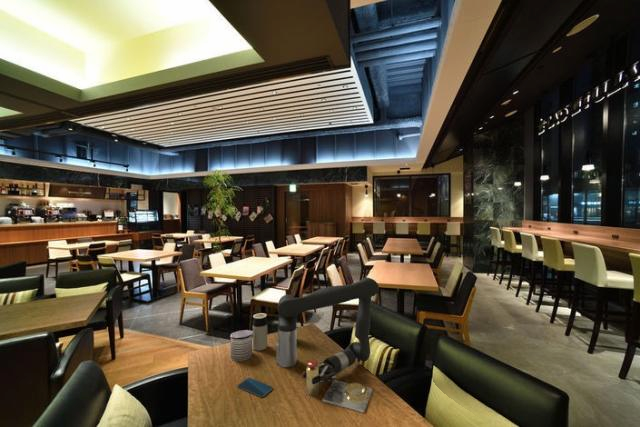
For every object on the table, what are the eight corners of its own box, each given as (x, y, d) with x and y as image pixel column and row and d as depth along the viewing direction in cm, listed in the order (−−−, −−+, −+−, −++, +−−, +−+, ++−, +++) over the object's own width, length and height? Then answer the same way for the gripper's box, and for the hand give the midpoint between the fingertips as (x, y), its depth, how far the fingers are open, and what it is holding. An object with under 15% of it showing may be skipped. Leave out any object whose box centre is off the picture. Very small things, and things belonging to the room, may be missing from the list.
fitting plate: (322, 401, 109) (322, 395, 110) (334, 381, 122) (334, 376, 122) (364, 412, 103) (364, 406, 103) (372, 390, 116) (372, 385, 116)
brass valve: (304, 393, 114) (304, 364, 114) (309, 386, 119) (309, 358, 119) (315, 397, 112) (315, 367, 112) (320, 389, 117) (320, 360, 117)
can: (229, 362, 139) (229, 338, 139) (231, 351, 150) (231, 329, 150) (252, 359, 141) (252, 336, 141) (252, 349, 152) (252, 327, 152)
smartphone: (262, 399, 111) (262, 397, 111) (235, 388, 119) (235, 385, 119) (274, 389, 118) (274, 387, 118) (248, 378, 125) (248, 376, 125)
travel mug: (263, 351, 149) (263, 318, 150) (250, 350, 151) (250, 317, 151) (269, 344, 157) (269, 313, 157) (256, 343, 159) (256, 312, 159)
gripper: (325, 349, 130) (297, 362, 119) (348, 361, 120) (319, 377, 108) (325, 365, 130) (297, 380, 119) (348, 378, 120) (319, 396, 108)
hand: (307, 378), depth 114 cm, fingers closed on brass valve, 5 cm apart
